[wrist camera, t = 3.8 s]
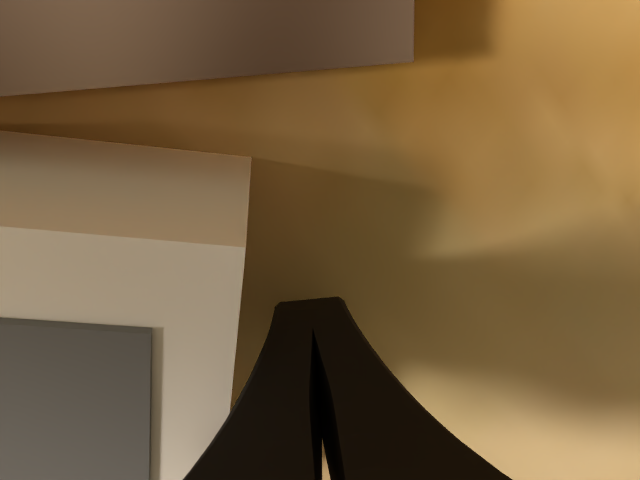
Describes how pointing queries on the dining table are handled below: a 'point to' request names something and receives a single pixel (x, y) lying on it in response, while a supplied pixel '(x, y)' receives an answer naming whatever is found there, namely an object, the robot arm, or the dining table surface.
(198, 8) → the guide rails
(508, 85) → the dining table surface
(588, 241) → the dining table surface
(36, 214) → the block
